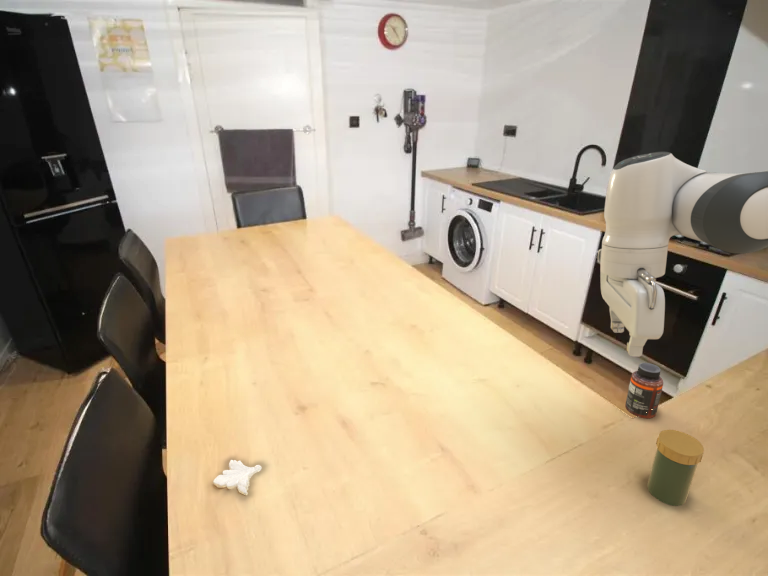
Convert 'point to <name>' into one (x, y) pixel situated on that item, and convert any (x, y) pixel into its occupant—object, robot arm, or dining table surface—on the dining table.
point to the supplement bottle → (644, 391)
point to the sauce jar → (670, 480)
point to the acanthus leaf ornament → (236, 476)
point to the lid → (680, 447)
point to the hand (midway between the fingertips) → (624, 342)
